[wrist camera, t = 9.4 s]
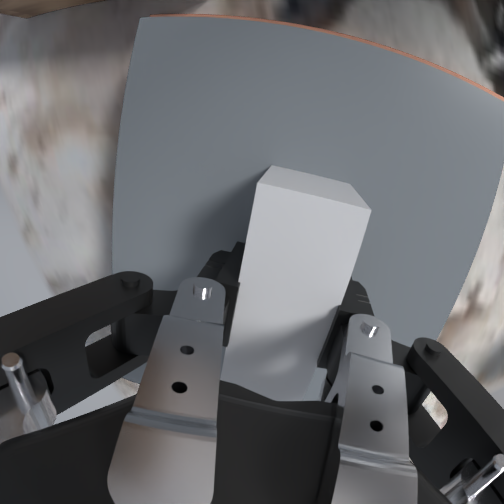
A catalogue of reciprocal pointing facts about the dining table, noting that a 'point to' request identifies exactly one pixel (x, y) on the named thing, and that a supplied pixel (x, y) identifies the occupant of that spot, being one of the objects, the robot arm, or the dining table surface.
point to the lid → (300, 183)
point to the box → (37, 6)
